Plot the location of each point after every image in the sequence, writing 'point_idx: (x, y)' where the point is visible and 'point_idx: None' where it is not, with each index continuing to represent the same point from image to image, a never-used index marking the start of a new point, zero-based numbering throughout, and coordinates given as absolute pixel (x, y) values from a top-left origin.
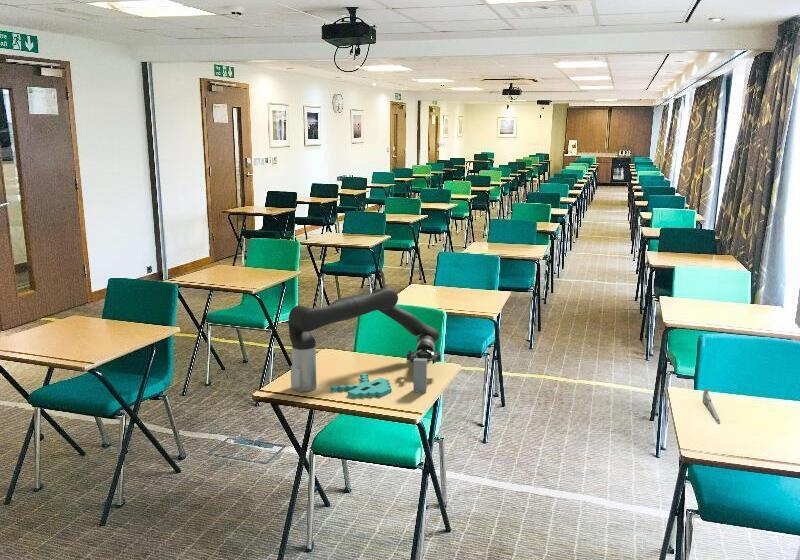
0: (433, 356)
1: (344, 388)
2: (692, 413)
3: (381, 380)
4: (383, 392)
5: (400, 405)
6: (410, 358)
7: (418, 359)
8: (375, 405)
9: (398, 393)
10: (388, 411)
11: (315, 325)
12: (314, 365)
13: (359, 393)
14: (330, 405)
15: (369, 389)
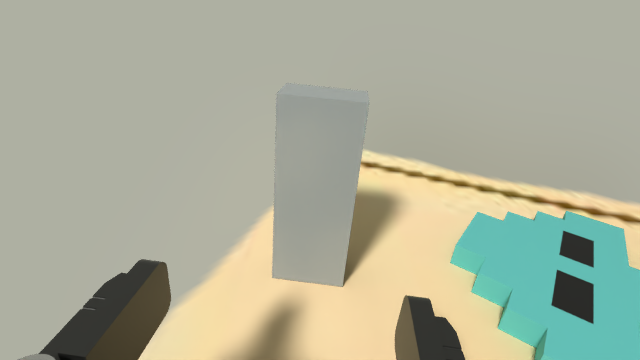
0: (85, 340)
1: None
2: None
3: (587, 345)
4: (472, 220)
5: (379, 183)
6: (449, 330)
7: (338, 93)
8: (458, 188)
9: (413, 252)
10: (405, 165)
11: None
12: None
13: (564, 220)
14: (596, 196)
15: (551, 239)
